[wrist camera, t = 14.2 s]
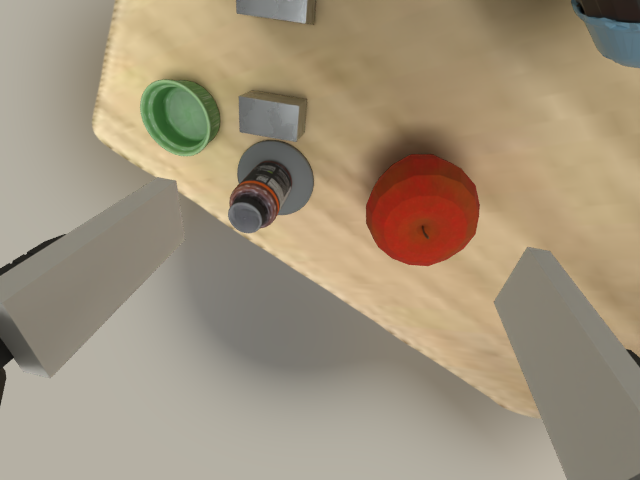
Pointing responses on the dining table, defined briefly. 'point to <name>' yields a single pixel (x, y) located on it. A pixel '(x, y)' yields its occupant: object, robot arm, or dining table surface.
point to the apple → (423, 210)
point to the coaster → (290, 161)
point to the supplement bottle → (259, 197)
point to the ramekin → (179, 116)
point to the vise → (266, 108)
